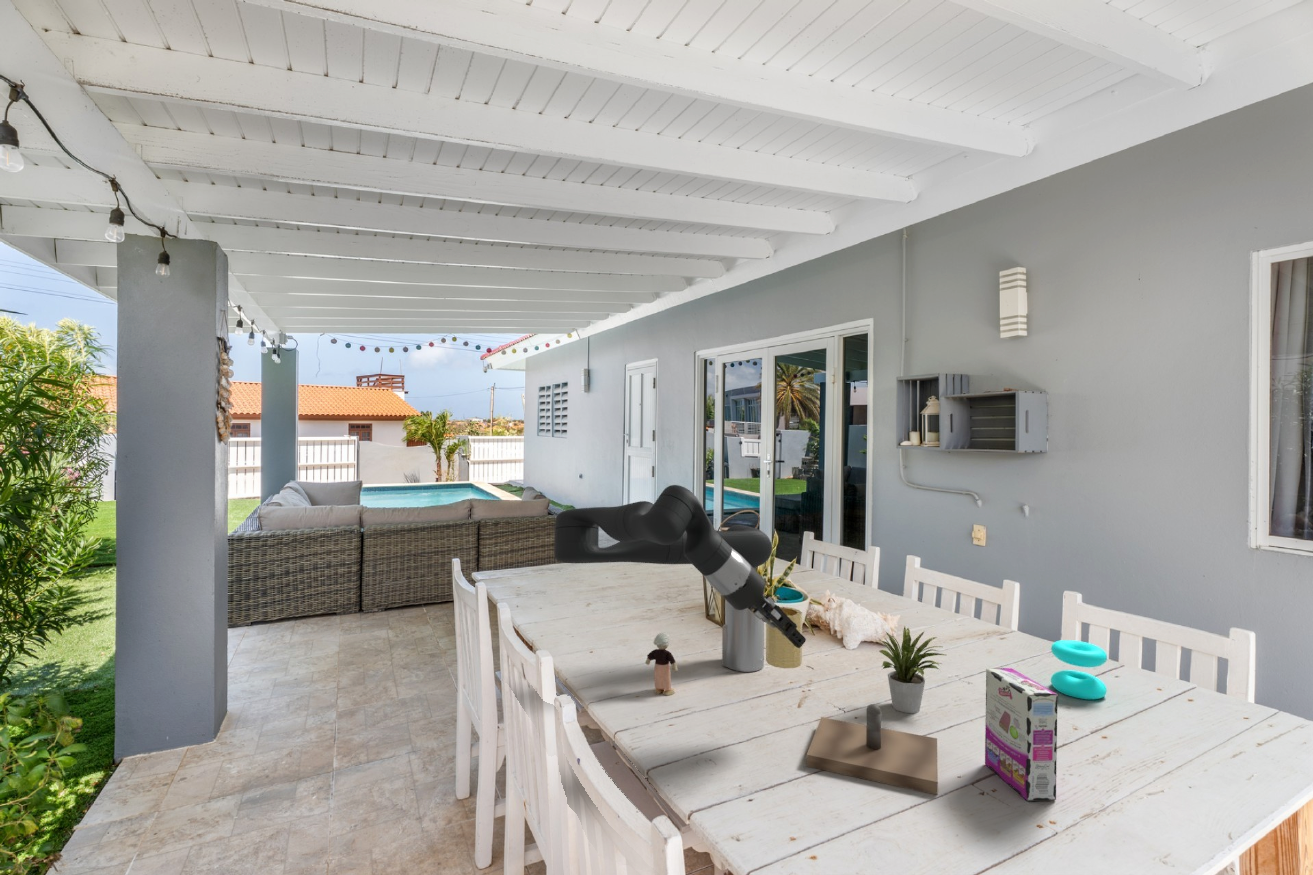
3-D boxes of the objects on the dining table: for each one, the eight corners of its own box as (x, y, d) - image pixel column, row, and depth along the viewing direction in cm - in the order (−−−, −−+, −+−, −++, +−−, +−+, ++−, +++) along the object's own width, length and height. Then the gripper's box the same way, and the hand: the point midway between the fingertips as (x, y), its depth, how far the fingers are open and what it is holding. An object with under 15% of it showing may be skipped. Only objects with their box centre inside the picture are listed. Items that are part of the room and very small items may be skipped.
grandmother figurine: (681, 690, 135) (681, 632, 135) (676, 697, 132) (676, 637, 131) (647, 685, 138) (648, 628, 138) (641, 692, 134) (641, 633, 134)
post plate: (806, 766, 105) (807, 711, 105) (821, 727, 119) (821, 679, 119) (937, 794, 97) (938, 735, 97) (937, 749, 111) (937, 697, 110)
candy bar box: (1058, 801, 95) (1060, 694, 95) (1027, 802, 95) (1028, 695, 95) (1011, 762, 107) (1012, 666, 106) (983, 763, 106) (984, 667, 106)
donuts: (1110, 645, 136) (1103, 657, 128) (1109, 691, 136) (1102, 706, 128) (1056, 634, 142) (1046, 645, 135) (1056, 678, 142) (1046, 692, 135)
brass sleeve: (762, 664, 113) (763, 614, 113) (771, 653, 119) (771, 605, 119) (797, 670, 111) (797, 618, 111) (804, 658, 116) (804, 609, 116)
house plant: (907, 732, 117) (907, 645, 117) (852, 703, 129) (852, 624, 129) (958, 716, 123) (958, 633, 123) (901, 690, 136) (902, 615, 136)
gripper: (705, 583, 118) (762, 640, 121) (735, 604, 104) (798, 667, 108) (731, 553, 119) (787, 610, 123) (764, 570, 106) (826, 634, 109)
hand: (792, 637), depth 115 cm, fingers closed on brass sleeve, 6 cm apart
